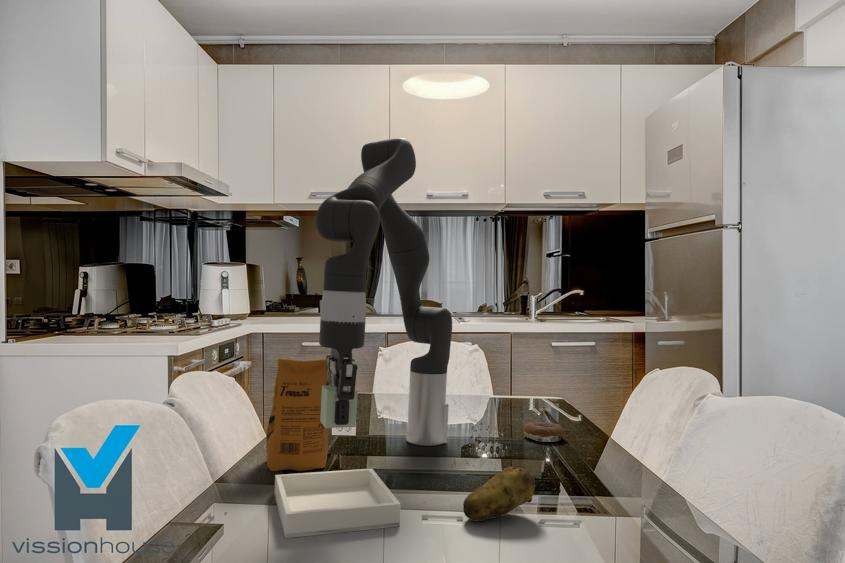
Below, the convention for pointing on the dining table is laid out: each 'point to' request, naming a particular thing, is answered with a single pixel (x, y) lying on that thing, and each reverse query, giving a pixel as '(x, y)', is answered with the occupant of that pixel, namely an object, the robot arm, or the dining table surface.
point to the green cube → (329, 408)
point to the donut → (543, 430)
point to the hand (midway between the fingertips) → (337, 419)
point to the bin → (334, 502)
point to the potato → (500, 494)
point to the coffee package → (297, 417)
